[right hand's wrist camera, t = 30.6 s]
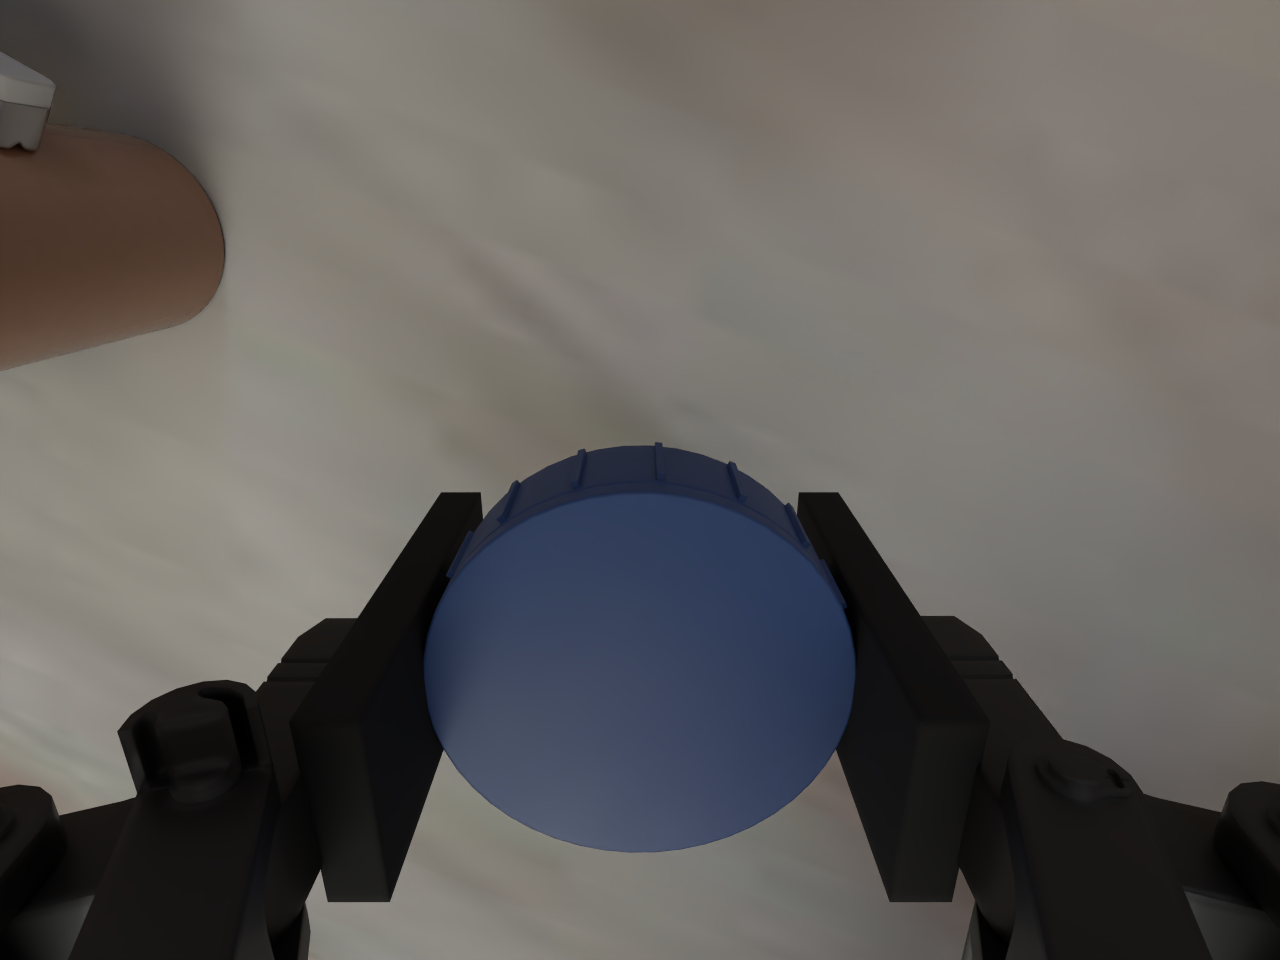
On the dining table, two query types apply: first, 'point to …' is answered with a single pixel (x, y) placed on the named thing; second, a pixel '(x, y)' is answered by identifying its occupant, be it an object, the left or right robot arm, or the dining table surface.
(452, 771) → the dining table surface
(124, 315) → the jar
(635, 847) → the lid
